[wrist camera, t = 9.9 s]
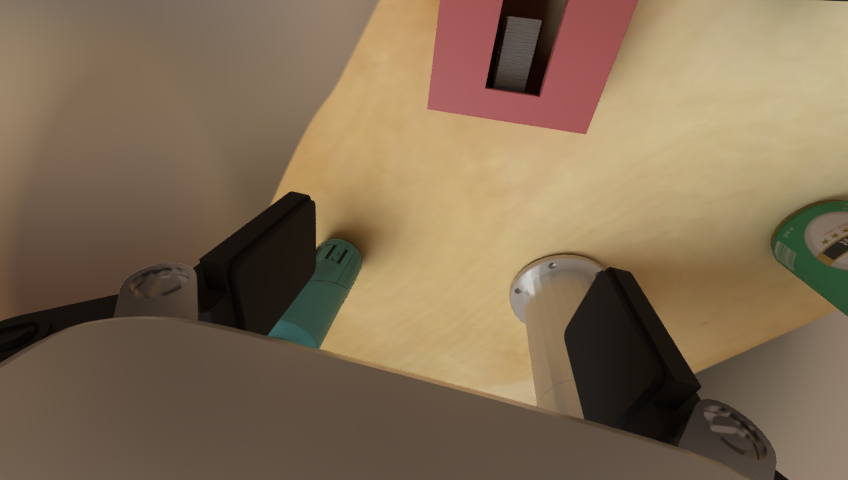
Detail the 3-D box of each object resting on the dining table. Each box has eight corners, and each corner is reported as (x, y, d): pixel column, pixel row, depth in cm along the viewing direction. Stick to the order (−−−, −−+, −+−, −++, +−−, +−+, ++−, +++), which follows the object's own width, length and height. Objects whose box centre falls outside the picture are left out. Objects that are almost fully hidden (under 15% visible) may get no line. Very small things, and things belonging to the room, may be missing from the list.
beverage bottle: (364, 232, 42) (285, 364, 25) (370, 272, 45) (304, 412, 29) (316, 229, 43) (210, 355, 26) (326, 269, 46) (237, 402, 30)
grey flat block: (542, 20, 23) (523, 94, 26) (533, 21, 28) (517, 86, 30) (508, 16, 24) (493, 90, 26) (505, 18, 28) (492, 82, 30)
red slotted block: (615, -39, 25) (663, -65, 18) (563, 112, 31) (585, 134, 24) (459, -59, 25) (450, -90, 19) (439, 92, 32) (427, 109, 25)
